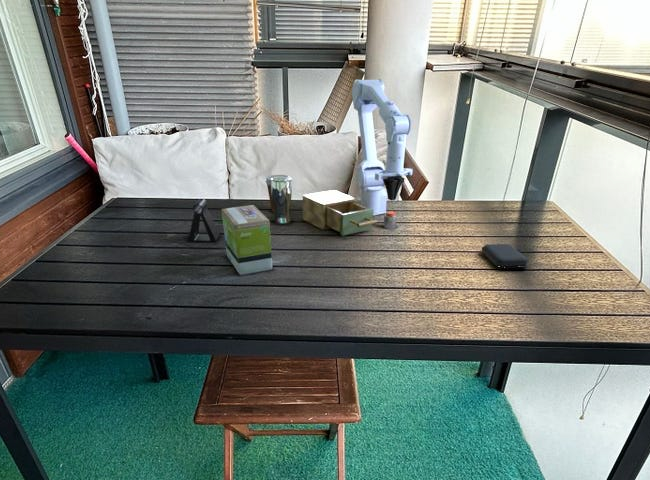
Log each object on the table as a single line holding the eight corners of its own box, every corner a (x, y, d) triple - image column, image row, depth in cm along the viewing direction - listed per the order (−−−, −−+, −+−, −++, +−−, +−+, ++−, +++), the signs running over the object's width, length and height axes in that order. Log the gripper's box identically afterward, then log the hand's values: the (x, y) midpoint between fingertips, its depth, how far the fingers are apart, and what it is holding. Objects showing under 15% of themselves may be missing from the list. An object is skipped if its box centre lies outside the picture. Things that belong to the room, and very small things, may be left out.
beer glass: (270, 220, 175) (267, 177, 166) (288, 218, 177) (286, 175, 169) (277, 226, 169) (275, 181, 161) (295, 223, 172) (294, 179, 164)
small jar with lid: (390, 224, 172) (391, 210, 169) (398, 227, 169) (399, 213, 166) (381, 226, 170) (382, 211, 167) (388, 229, 167) (389, 215, 164)
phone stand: (188, 241, 157) (182, 203, 150) (193, 235, 162) (187, 198, 155) (216, 241, 156) (211, 204, 150) (219, 235, 161) (215, 198, 155)
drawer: (382, 233, 161) (383, 213, 157) (352, 240, 155) (352, 219, 151) (350, 219, 173) (351, 200, 169) (321, 225, 168) (321, 205, 164)
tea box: (225, 257, 146) (220, 207, 137) (257, 252, 149) (254, 203, 141) (239, 276, 134) (234, 223, 126) (273, 270, 137) (270, 218, 129)
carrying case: (533, 270, 138) (511, 251, 150) (536, 260, 136) (514, 241, 149) (497, 271, 137) (478, 252, 150) (499, 261, 136) (480, 242, 148)
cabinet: (355, 223, 173) (356, 198, 168) (323, 229, 166) (323, 204, 162) (333, 213, 182) (334, 189, 177) (302, 219, 176) (302, 195, 171)
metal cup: (264, 213, 182) (262, 180, 175) (270, 206, 190) (269, 174, 183) (289, 214, 180) (288, 181, 174) (294, 207, 188) (293, 175, 182)
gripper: (385, 161, 151) (382, 205, 158) (420, 156, 157) (415, 199, 165) (371, 157, 155) (369, 200, 163) (406, 152, 162) (402, 194, 170)
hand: (391, 199), depth 164 cm, fingers closed
